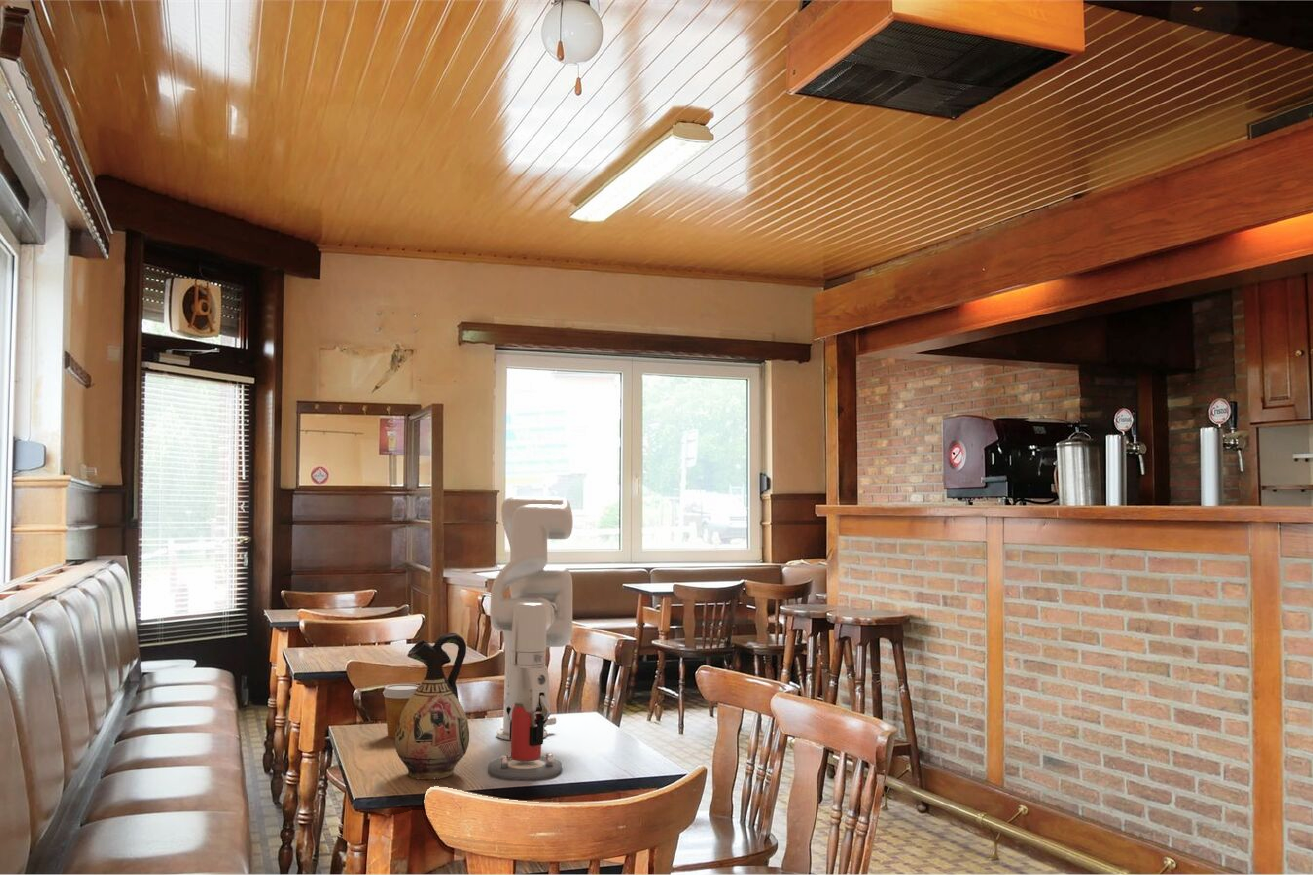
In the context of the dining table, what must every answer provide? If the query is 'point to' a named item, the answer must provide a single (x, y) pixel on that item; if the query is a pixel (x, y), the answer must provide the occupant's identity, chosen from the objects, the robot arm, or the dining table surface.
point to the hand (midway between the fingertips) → (526, 741)
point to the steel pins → (505, 761)
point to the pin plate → (525, 769)
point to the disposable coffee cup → (396, 704)
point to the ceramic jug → (434, 715)
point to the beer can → (522, 736)
